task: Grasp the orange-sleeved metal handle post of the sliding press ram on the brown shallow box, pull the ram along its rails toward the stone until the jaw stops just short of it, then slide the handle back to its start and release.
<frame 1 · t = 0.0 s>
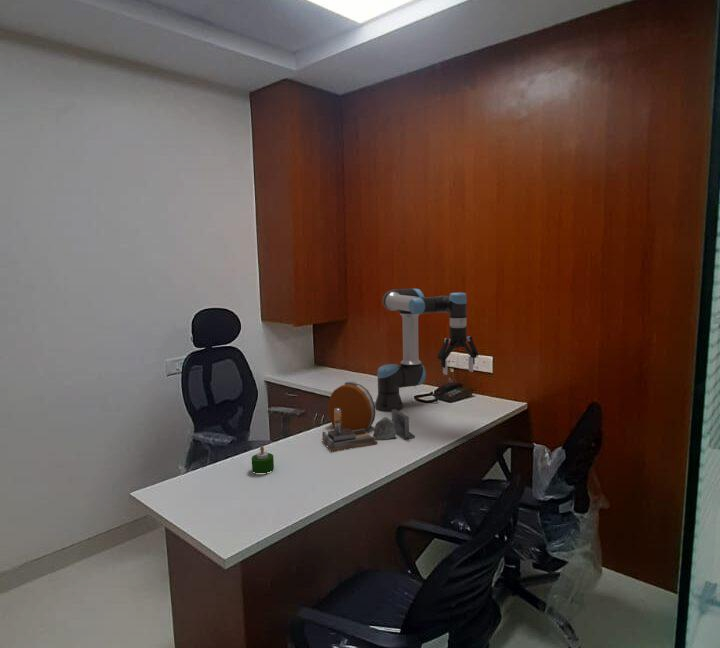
hand: (458, 372, 222), 28 cm above the table, fingers open, 13 cm apart
alarm clock: (352, 427, 236), on the table
ram: (341, 424, 213), point 9 cm above the table, slide at 0.0 cm
brown shallow box: (349, 442, 216), on the table
angle bracket: (400, 434, 224), on the table
stone: (385, 437, 222), on the table
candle: (263, 470, 189), on the table
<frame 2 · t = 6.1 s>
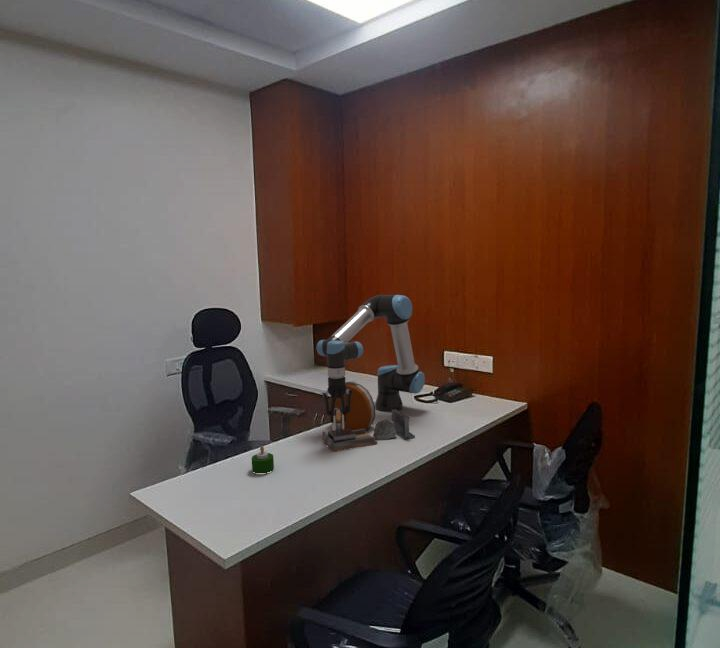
hand: (338, 428, 213), 7 cm above the table, fingers closed on ram, 3 cm apart
ram: (341, 424, 213), point 9 cm above the table, slide at 0.0 cm, touching gripper
everything else where it was.
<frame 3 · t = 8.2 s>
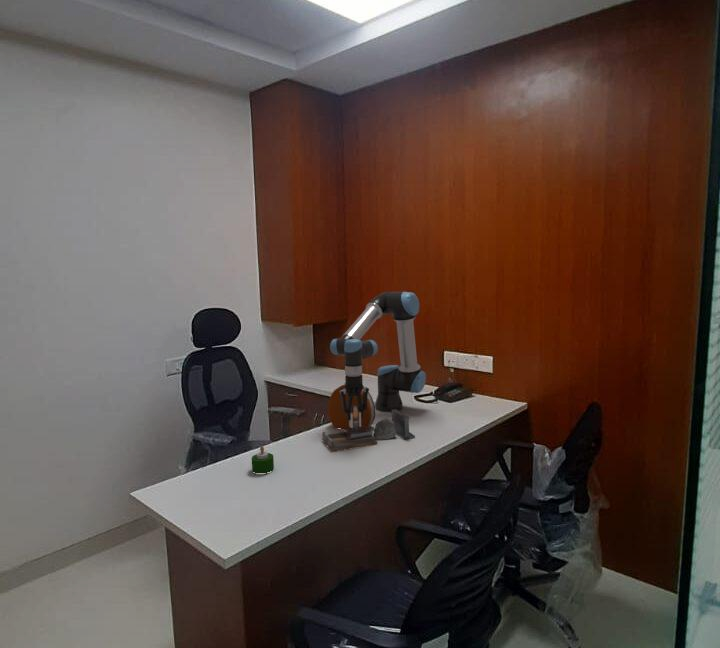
hand: (355, 426, 216), 7 cm above the table, fingers closed on ram, 3 cm apart
ram: (358, 422, 216), point 9 cm above the table, slide at 7.9 cm, touching gripper
everything else where it was.
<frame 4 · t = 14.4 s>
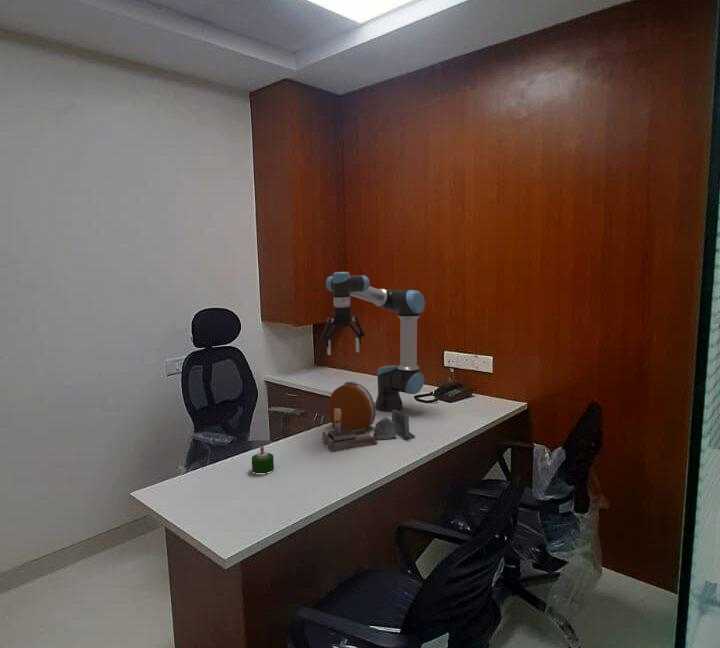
hand: (343, 353, 220), 39 cm above the table, fingers open, 13 cm apart
ram: (341, 424, 213), point 9 cm above the table, slide at 0.0 cm
everything else where it was.
at the end: ram slide at 0.0 cm; stone moved 0.3 cm from its start; the gripper is holding nothing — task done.
